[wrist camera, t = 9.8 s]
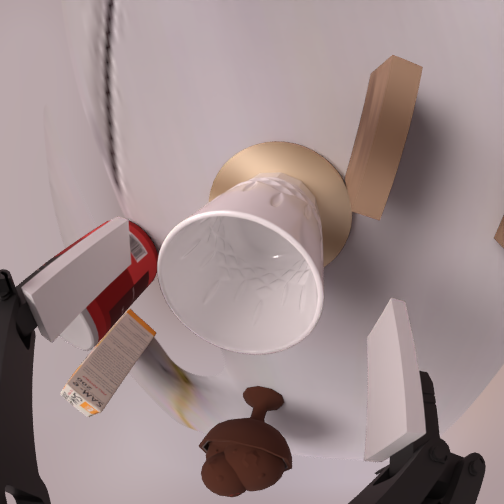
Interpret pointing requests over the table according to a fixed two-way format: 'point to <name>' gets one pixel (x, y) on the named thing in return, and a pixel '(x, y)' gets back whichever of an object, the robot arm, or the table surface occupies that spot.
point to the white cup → (248, 266)
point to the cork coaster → (304, 169)
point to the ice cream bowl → (246, 449)
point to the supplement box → (108, 365)
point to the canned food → (114, 292)
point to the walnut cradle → (384, 137)
